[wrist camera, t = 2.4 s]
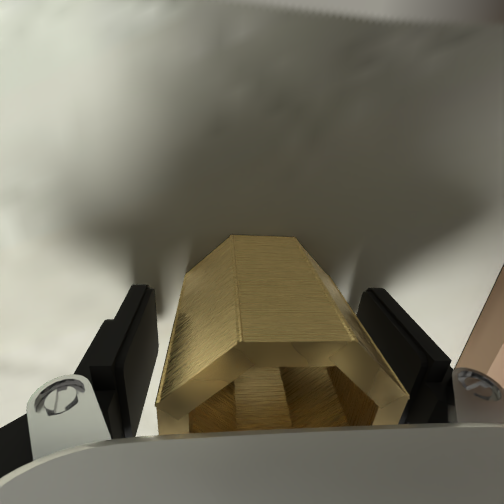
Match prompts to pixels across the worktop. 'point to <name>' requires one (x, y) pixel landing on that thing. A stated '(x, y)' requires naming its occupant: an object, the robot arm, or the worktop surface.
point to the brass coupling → (270, 348)
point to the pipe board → (488, 337)
